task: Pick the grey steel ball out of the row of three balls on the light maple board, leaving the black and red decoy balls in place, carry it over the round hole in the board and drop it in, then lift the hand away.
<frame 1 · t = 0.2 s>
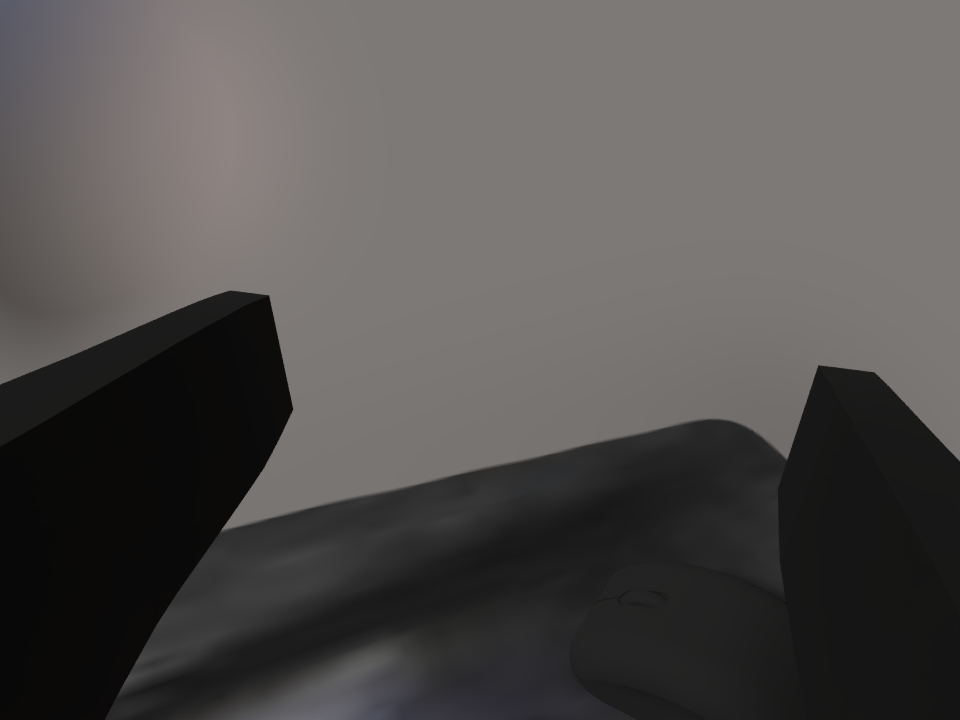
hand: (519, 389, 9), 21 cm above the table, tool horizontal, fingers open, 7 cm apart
computer mouse: (715, 691, 29), on the table
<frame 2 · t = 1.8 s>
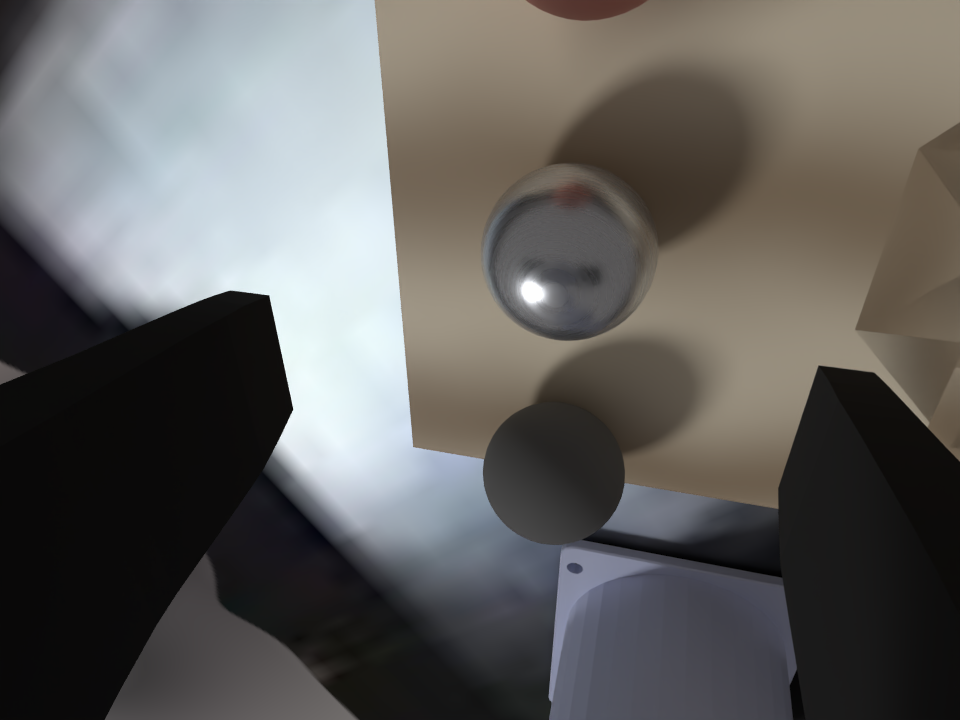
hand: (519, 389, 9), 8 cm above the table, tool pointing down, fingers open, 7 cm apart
black ball: (553, 472, 16), point 4 cm above the table, touching maple board
maple board: (880, 197, 15), on the table
steel ball: (568, 253, 13), point 4 cm above the table, touching maple board
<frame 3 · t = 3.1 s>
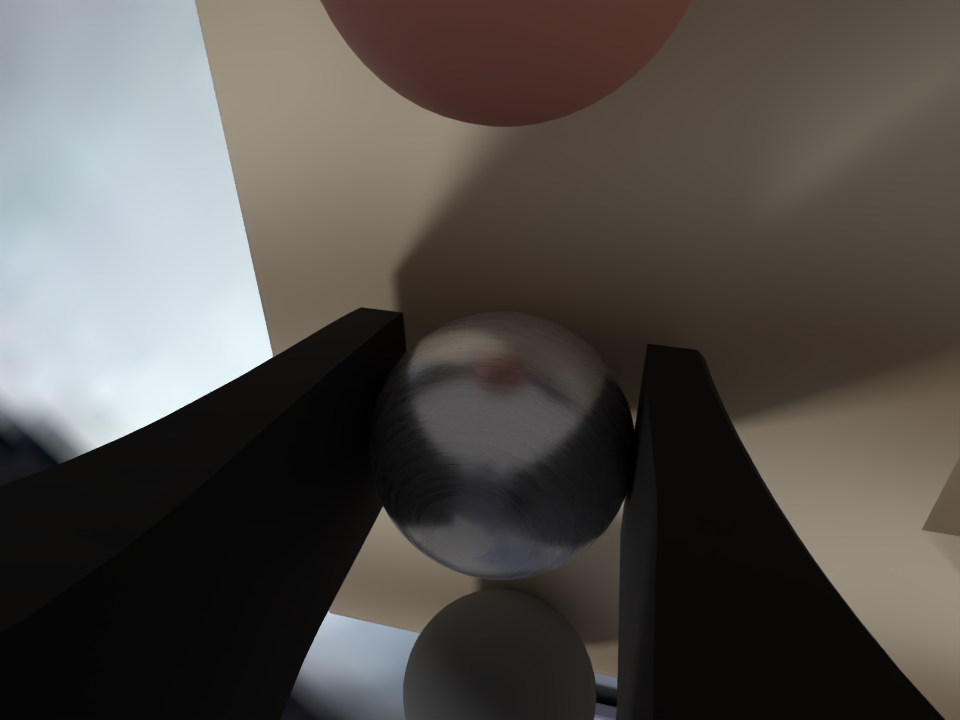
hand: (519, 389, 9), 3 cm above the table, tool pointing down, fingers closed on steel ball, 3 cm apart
black ball: (499, 689, 12), point 4 cm above the table, touching maple board
maple board: (952, 327, 11), on the table
steel ball: (501, 442, 9), point 4 cm above the table, touching gripper, maple board
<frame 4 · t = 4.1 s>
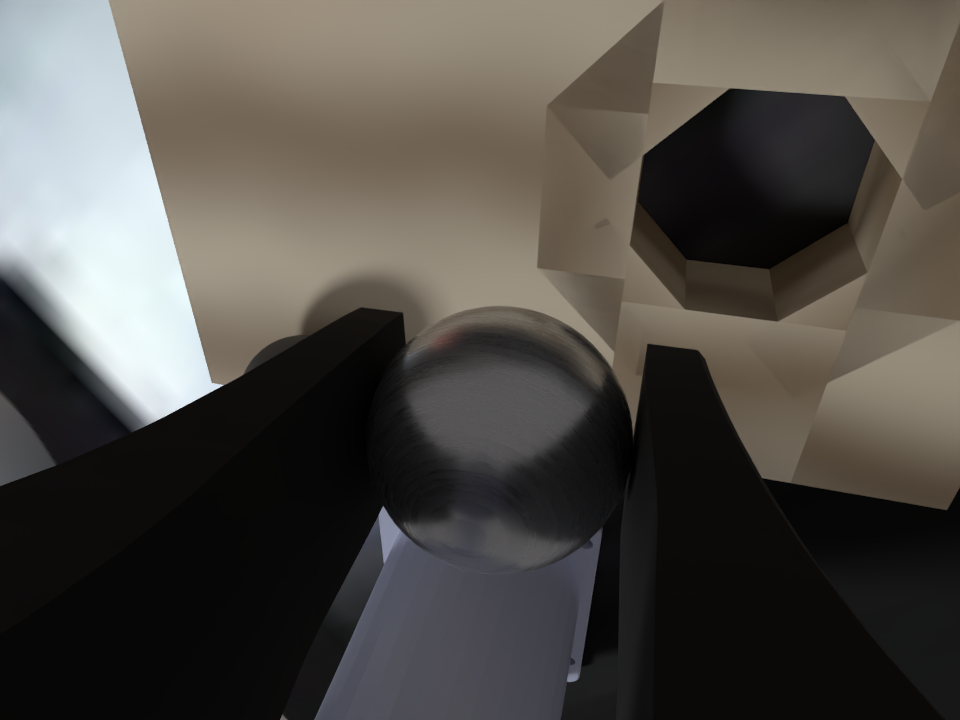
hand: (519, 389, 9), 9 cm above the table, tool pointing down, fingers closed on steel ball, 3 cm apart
black ball: (304, 396, 18), point 4 cm above the table, touching maple board
maple board: (576, 155, 17), on the table
steel ball: (498, 437, 9), point 10 cm above the table, touching gripper
when the fingers open (4 cm above the table, at t = 5.3 s): steel ball drops 3 cm, point 2 cm above the table.
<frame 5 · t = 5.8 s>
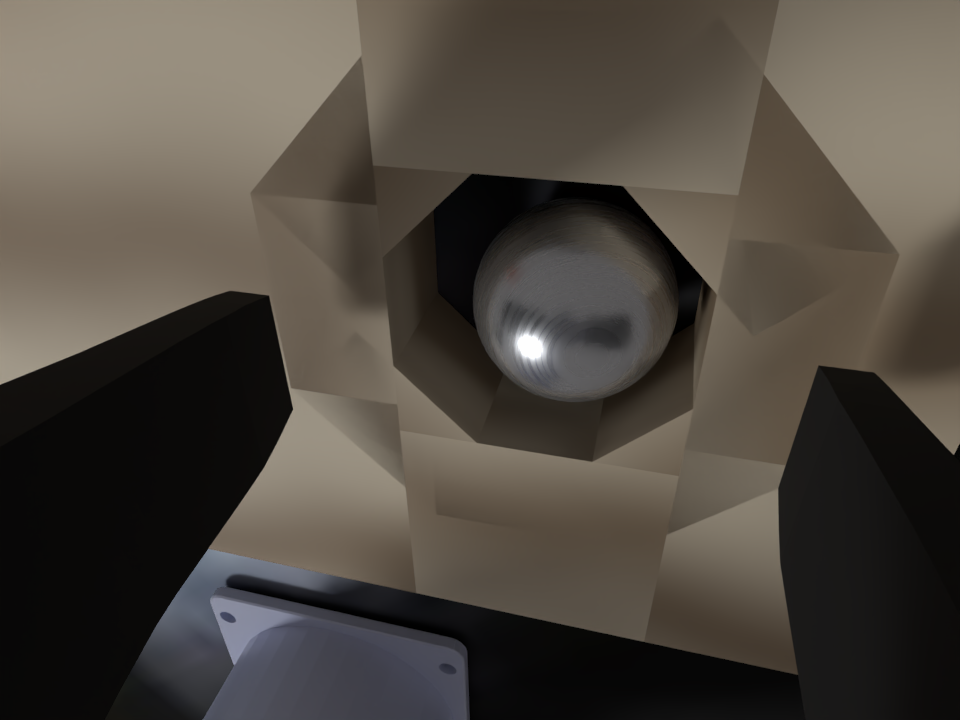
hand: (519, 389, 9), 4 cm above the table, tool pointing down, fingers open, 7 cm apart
maple board: (354, 236, 13), on the table
steel ball: (573, 301, 11), point 2 cm above the table, tilted 17°
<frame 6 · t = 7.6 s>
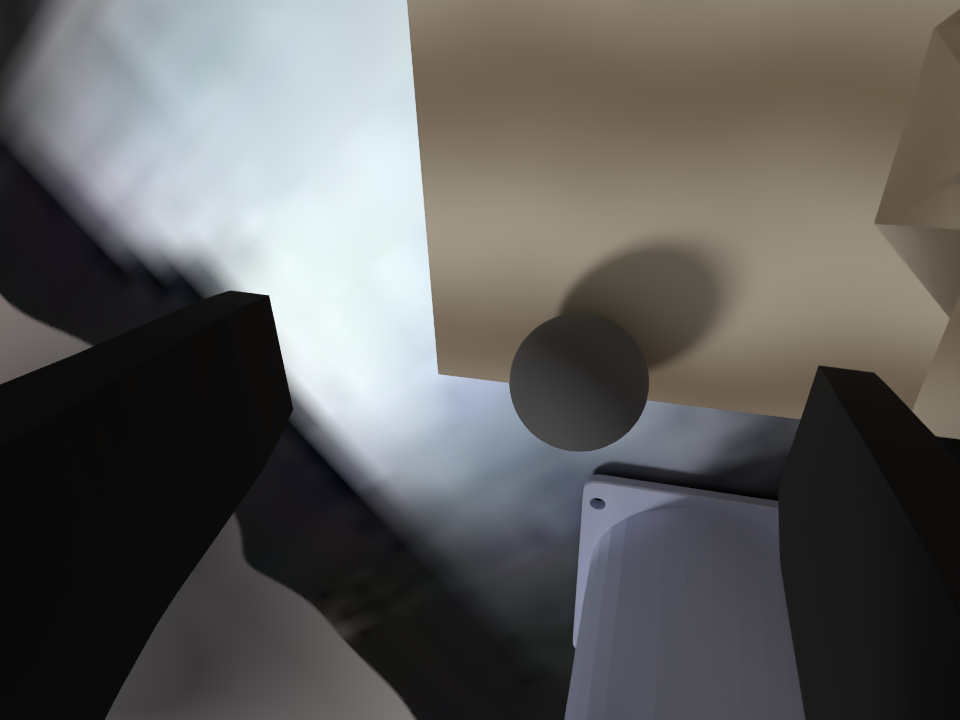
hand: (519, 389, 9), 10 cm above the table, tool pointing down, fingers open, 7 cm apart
black ball: (578, 382, 16), point 4 cm above the table, touching maple board
maple board: (895, 98, 15), on the table
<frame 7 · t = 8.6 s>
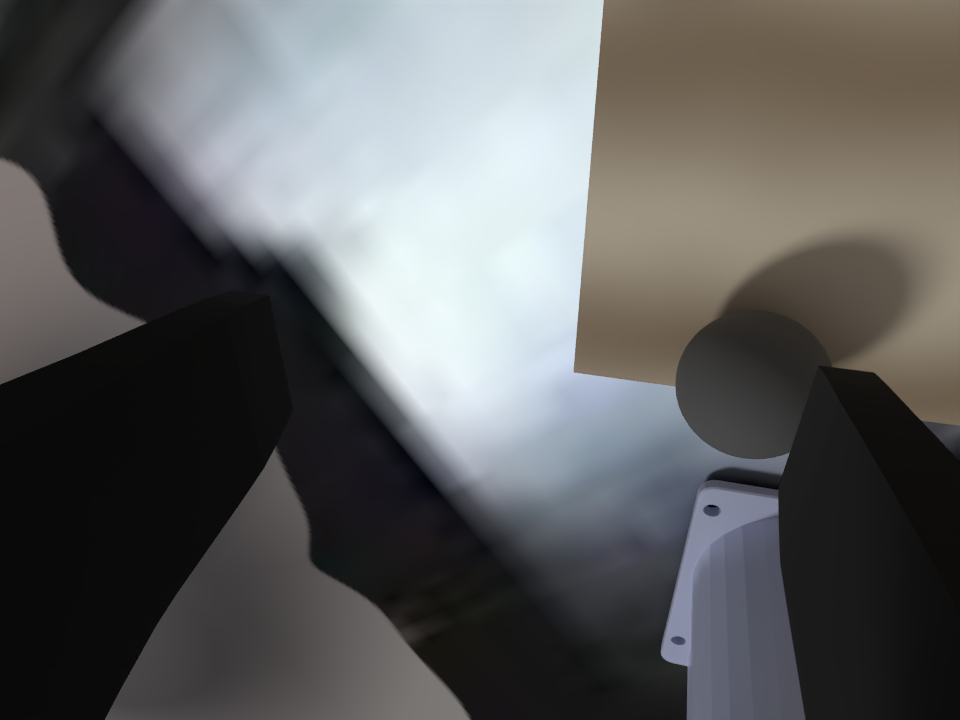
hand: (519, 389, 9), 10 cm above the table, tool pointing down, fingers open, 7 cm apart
black ball: (752, 384, 15), point 4 cm above the table, touching maple board
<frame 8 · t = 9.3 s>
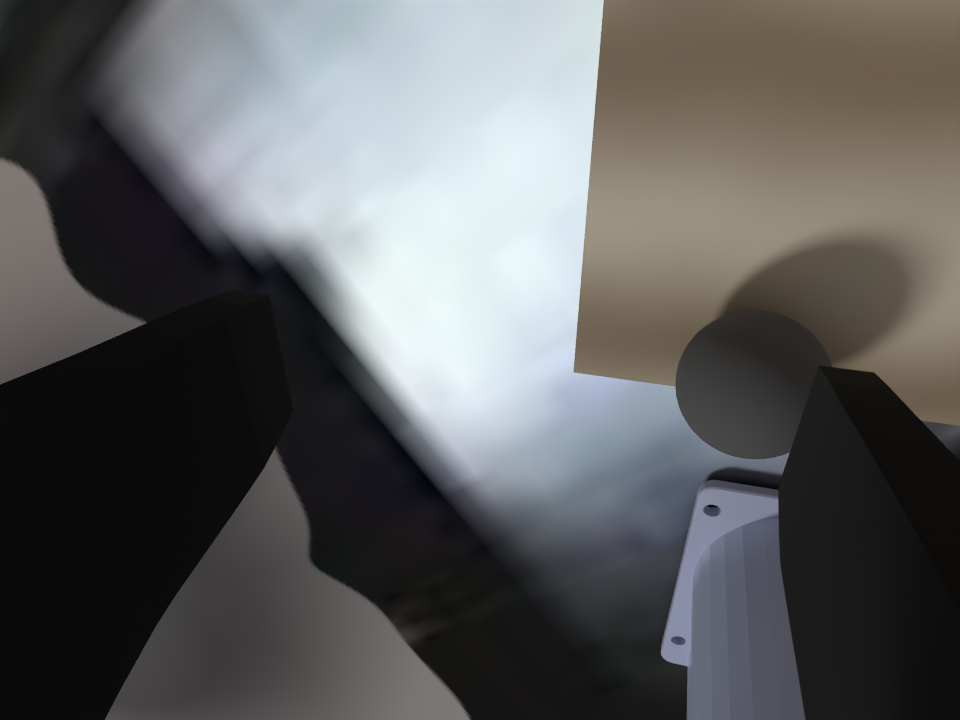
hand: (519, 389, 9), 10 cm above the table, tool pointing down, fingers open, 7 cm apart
black ball: (752, 384, 15), point 4 cm above the table, touching maple board
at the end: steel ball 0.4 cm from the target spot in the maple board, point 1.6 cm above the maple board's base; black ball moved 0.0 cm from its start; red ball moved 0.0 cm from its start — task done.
